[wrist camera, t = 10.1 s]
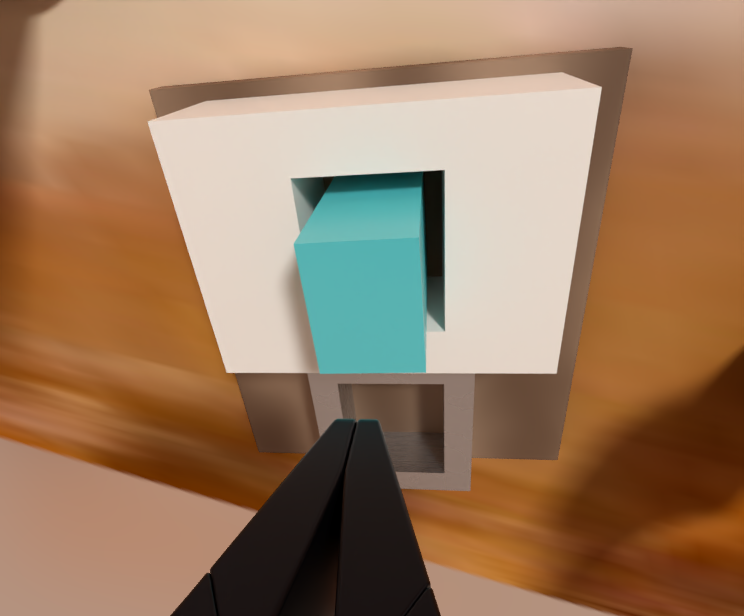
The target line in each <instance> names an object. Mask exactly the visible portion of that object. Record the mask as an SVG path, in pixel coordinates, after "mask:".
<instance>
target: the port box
mask: <svg viewBox="0 0 744 616" xmlns="http://www.w3.org/2000/svg"><path fill="white" fill-rule="evenodd" d="M601 89H602V87H600V86H598V85H595V84H592V83H590V82H587V81H584V80H582V79H579V78H576V77H574V76H571V75H568V74H565V73H563V72H559V73H546V74H534V75H522V76H509V77H497V78H484V79H472V80H460V81H447V82H435V83H423V84H410V85H398V86H385V87H373V88H361V89H348V90H336V91H323V92H311V93H299V94H286V95H274V96H262V97H249V98H237V99H224V100H212V101H205V102H202V103H199V104H196V105H193V106H190V107H188V108H185V109H182V110H179V111H176V112H173V113H170V114H168V115H165V116H162V117H159V118H156V119H153V120H151V121H148V125H149V128H150V131H151V134H152V137H153V141H154V144H155V147H156V150H157V153H158V156H159V160H160V163H161V166H162V169H163V172H164V175H165V179H166V182H167V185H168V188H169V191H170V194H171V198H172V201H173V204H174V207H175V210H176V213H177V217H178V220H179V223H180V226H181V229H182V232H183V236H184V239H185V242H186V245H187V248H188V251H189V255H190V258H191V261H192V264H193V267H194V270H195V274H196V277H197V280H198V283H199V286H200V289H201V293H202V296H203V299H204V302H205V305H206V308H207V312H208V315H209V318H210V321H211V324H212V327H213V331H214V334H215V337H216V340H217V343H218V346H219V350H220V353H221V356H222V359H223V362H224V365H225V369H226V372H227V373H320V372H319V367H318V362H317V357H316V352H315V347H314V342H313V337H312V332H311V327H310V323H309V318H308V313H307V308H306V303H305V298H304V293H303V288H302V283H301V279H300V274H299V269H298V264H297V259H296V254H295V249H294V242H295V241H296V239H297V237H298V236H299V234H300V233H301V231H302V229H303V228H304V226H305V224H306V223H307V221H308V219H309V218H310V216H311V215H312V213H313V211H314V210H315V208H316V206H317V205H318V203H319V202H320V200H321V198H322V197H323V195H324V193H325V189H324V182H323V177H327V176H345V175H363V174H381V173H399V172H417V171H435V170H442V276H435V277H427V331H426V373H507V374H557V368H558V361H559V355H560V349H561V342H562V336H563V330H564V323H565V317H566V311H567V304H568V298H569V292H570V285H571V279H572V273H573V266H574V260H575V254H576V248H577V241H578V235H579V229H580V222H581V216H582V210H583V203H584V197H585V191H586V184H587V178H588V172H589V165H590V159H591V153H592V146H593V140H594V134H595V127H596V121H597V115H598V108H599V102H600V96H601Z"/></svg>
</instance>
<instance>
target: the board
mask: <svg viewBox="0 0 744 616" xmlns="http://www.w3.org/2000/svg"><path fill="white" fill-rule="evenodd" d="M631 54H632V48H625V47H616V48H604V49H593V50H581V51H569V52H558V53H546V54H535V55H523V56H511V57H500V58H488V59H477V60H465V61H454V62H442V63H430V64H419V65H407V66H396V67H384V68H372V69H361V70H349V71H338V72H326V73H315V74H303V75H291V76H280V77H268V78H257V79H245V80H233V81H222V82H210V83H199V84H187V85H176V86H164V87H159V88H155V89H151V90H149V92H150V95H151V99H152V102H153V105H154V108H155V112H156V115H157V118H159V117H162V116H165V115H168V114H170V113H173V112H176V111H179V110H182V109H185V108H188V107H190V106H193V105H196V104H199V103H202V102H205V101H212V100H224V99H237V98H249V97H262V96H274V95H286V94H299V93H311V92H323V91H336V90H348V89H361V88H373V87H385V86H398V85H410V84H423V83H435V82H447V81H460V80H472V79H484V78H497V77H509V76H522V75H534V74H546V73H559V72H563V73H565V74H568V75H571V76H574V77H576V78H579V79H582V80H584V81H587V82H590V83H592V84H595V85H598V86H600V87H602V89H601V96H600V102H599V108H598V115H597V121H596V127H595V134H594V140H593V146H592V153H591V159H590V165H589V172H588V178H587V184H586V191H585V197H584V203H583V210H582V216H581V222H580V229H579V235H578V241H577V248H576V254H575V260H574V266H573V273H572V279H571V285H570V292H569V298H568V304H567V311H566V317H565V323H564V330H563V336H562V342H561V349H560V355H559V361H558V368H557V374H507V373H475V385H474V409H473V434H472V458H499V459H537V460H558V455H559V449H560V444H561V438H562V433H563V427H564V422H565V416H566V411H567V405H568V400H569V394H570V389H571V383H572V378H573V372H574V367H575V361H576V356H577V350H578V345H579V339H580V334H581V328H582V323H583V317H584V312H585V306H586V301H587V295H588V290H589V284H590V279H591V273H592V268H593V262H594V257H595V251H596V246H597V240H598V235H599V229H600V224H601V218H602V213H603V207H604V202H605V196H606V191H607V186H608V180H609V175H610V169H611V164H612V158H613V153H614V147H615V142H616V136H617V131H618V125H619V120H620V114H621V109H622V103H623V98H624V92H625V87H626V81H627V76H628V70H629V65H630V59H631ZM334 177H335V176H327V177H323V182H324V189H325V192H326V190H327V189H328V187H329V185H330V184H331V182H332V180H333V179H334ZM423 178H424V201H425V223H426V246H427V277H435V276H442V170H435V171H423ZM235 375H236V378H237V381H238V385H239V388H240V391H241V394H242V398H243V401H244V404H245V408H246V411H247V414H248V417H249V421H250V424H251V427H252V431H253V434H254V437H255V441H256V444H257V447H258V450H259V452H273V453H307V452H308V451H309V450H310V448H311V447H312V446H313V445H314V444H315V442H316V441H317V440H318V439H319V438H320V434H319V429H318V424H317V419H316V414H315V409H314V404H313V399H312V394H311V389H310V384H309V379H308V374H307V373H235ZM352 391H353V398H354V406H355V413H356V420H357V421H358V420H360V419H377V420H379V422H380V424H381V427H382V430H383V432H426V433H443V384H352Z"/></svg>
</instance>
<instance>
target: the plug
mask: <svg viewBox="0 0 744 616" xmlns="http://www.w3.org/2000/svg"><path fill="white" fill-rule="evenodd" d="M294 249H295V254H296V259H297V264H298V269H299V274H300V279H301V283H302V288H303V293H304V298H305V303H306V308H307V313H308V318H309V323H310V327H311V332H312V337H313V342H314V347H315V352H316V357H317V362H318V367H319V372H320V374H350V373H426V331H427V246H426V223H425V201H424V178H423V171H417V172H399V173H381V174H363V175H345V176H335V177H334V179H333V180H332V182H331V184H330V185H329V187H328V189H327V190H326V192H325V193H324V195H323V197H322V198H321V200H320V202H319V203H318V205H317V206H316V208H315V210H314V211H313V213H312V215H311V216H310V218H309V219H308V221H307V223H306V224H305V226H304V228H303V229H302V231H301V233H300V234H299V236H298V237H297V239H296V241H295V242H294Z"/></svg>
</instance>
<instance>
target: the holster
mask: <svg viewBox="0 0 744 616" xmlns="http://www.w3.org/2000/svg"><path fill="white" fill-rule="evenodd" d="M307 374H308V379H309V384H310V389H311V394H312V399H313V404H314V409H315V414H316V419H317V424H318V429H319V434H320V436H321V435H322V434H323V433H324V432H325V430H326V429H327V428H328V427H329V426H330V424H331V423H332V422H333V421H334V420H336V419H355V420H356V413H355V406H354V398H353V391H352V384H443V433H426V432H383V434H384V437H385V440H386V443H387V446H388V450H389V453H390V456H391V459H392V462H393V466H394V469H395V472H396V475H397V478H398V482H399V485H400V488H401V489H429V490H457V491H470V483H471V458H472V434H473V409H474V385H475V373H350V374H320V373H307ZM356 421H357V420H356Z"/></svg>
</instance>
